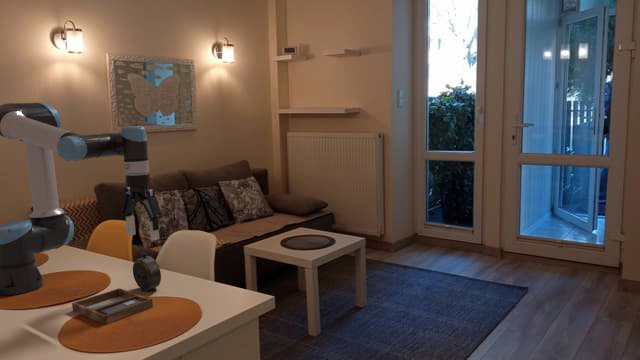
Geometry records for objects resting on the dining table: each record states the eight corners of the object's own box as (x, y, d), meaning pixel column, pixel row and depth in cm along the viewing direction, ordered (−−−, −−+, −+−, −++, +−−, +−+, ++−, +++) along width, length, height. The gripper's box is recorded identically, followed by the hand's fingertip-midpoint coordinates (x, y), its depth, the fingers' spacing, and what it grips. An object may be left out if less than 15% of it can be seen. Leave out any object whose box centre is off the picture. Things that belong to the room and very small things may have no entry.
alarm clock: (163, 293, 172) (159, 245, 170) (148, 297, 168) (144, 249, 166) (145, 286, 179) (141, 241, 177) (131, 291, 175) (127, 244, 173)
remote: (101, 317, 151) (101, 309, 151) (135, 305, 160) (134, 298, 159) (109, 320, 149) (108, 312, 148) (142, 308, 157) (142, 301, 157)
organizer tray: (73, 313, 157) (71, 303, 157) (120, 297, 169) (119, 288, 169) (105, 327, 146) (104, 316, 146) (152, 309, 158) (152, 299, 158)
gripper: (106, 173, 173) (112, 235, 176) (149, 177, 158) (155, 244, 161) (126, 171, 179) (132, 230, 182) (170, 174, 164) (175, 239, 166)
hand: (143, 237), depth 171 cm, fingers open, 13 cm apart
